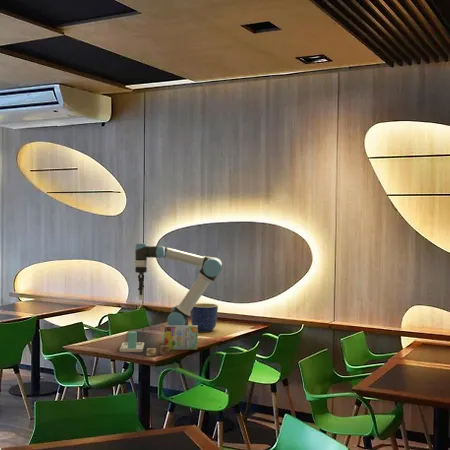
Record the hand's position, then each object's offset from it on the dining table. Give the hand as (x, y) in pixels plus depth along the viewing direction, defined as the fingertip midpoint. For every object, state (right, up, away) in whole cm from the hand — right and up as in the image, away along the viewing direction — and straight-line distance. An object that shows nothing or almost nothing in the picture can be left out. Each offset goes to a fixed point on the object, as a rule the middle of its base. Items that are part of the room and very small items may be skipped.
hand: (141, 298), depth 409 cm
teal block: (-3, -30, -17) cm, 34 cm away
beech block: (+11, -31, -34) cm, 47 cm away
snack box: (+28, -31, -15) cm, 44 cm away
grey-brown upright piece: (+17, -30, -2) cm, 35 cm away
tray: (-3, -30, -17) cm, 35 cm away
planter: (+40, -30, +51) cm, 72 cm away
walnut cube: (+19, -31, -30) cm, 47 cm away
